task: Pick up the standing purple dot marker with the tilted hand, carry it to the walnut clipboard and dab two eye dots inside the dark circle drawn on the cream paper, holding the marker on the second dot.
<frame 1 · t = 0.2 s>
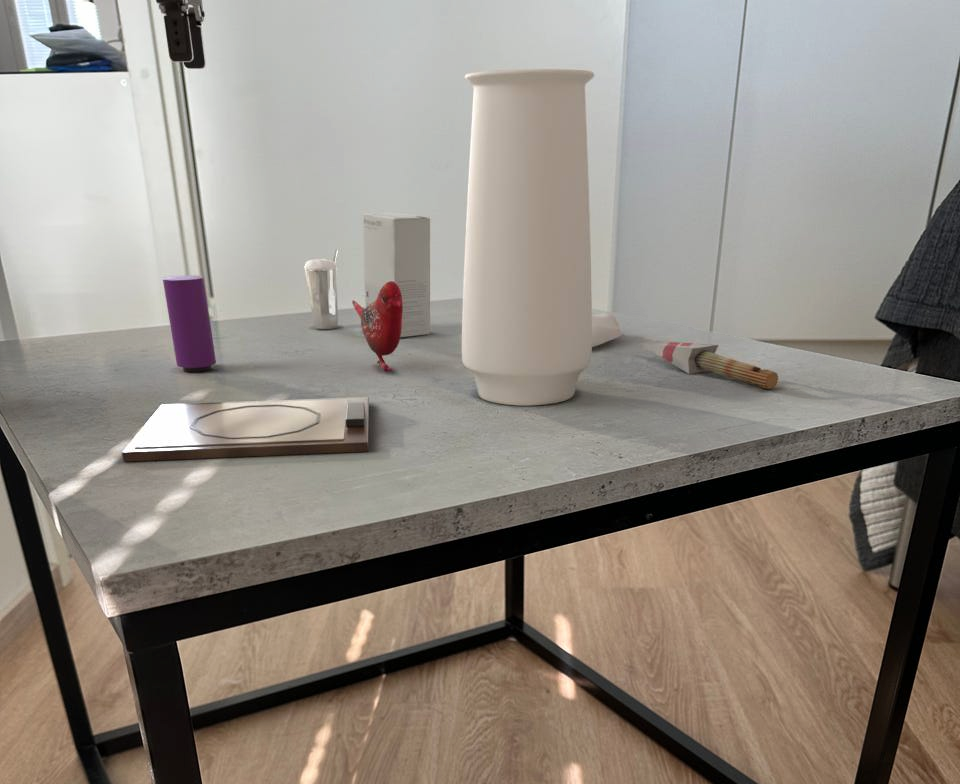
hand: (189, 65, 94), 30 cm above the table, tool pointing down, fingers open, 8 cm apart
cosmetic box: (399, 333, 127), on the table
dot marker: (197, 369, 107), on the table
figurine: (546, 341, 120), on the table
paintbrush: (704, 374, 102), on the table
milkshake: (328, 328, 131), on the table
vase: (526, 396, 94), on the table
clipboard: (257, 430, 83), on the table
decorative bird figurine: (378, 368, 107), on the table
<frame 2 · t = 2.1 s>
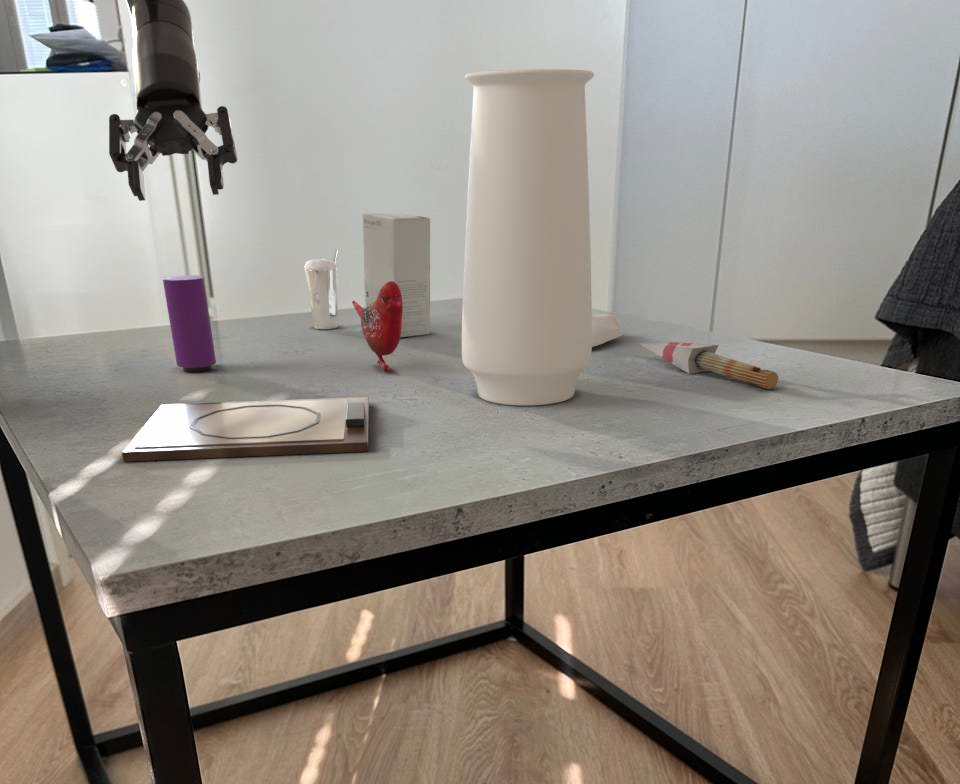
hand: (177, 193, 107), 18 cm above the table, tool tilted 40°, fingers open, 8 cm apart
nothing on the table moved.
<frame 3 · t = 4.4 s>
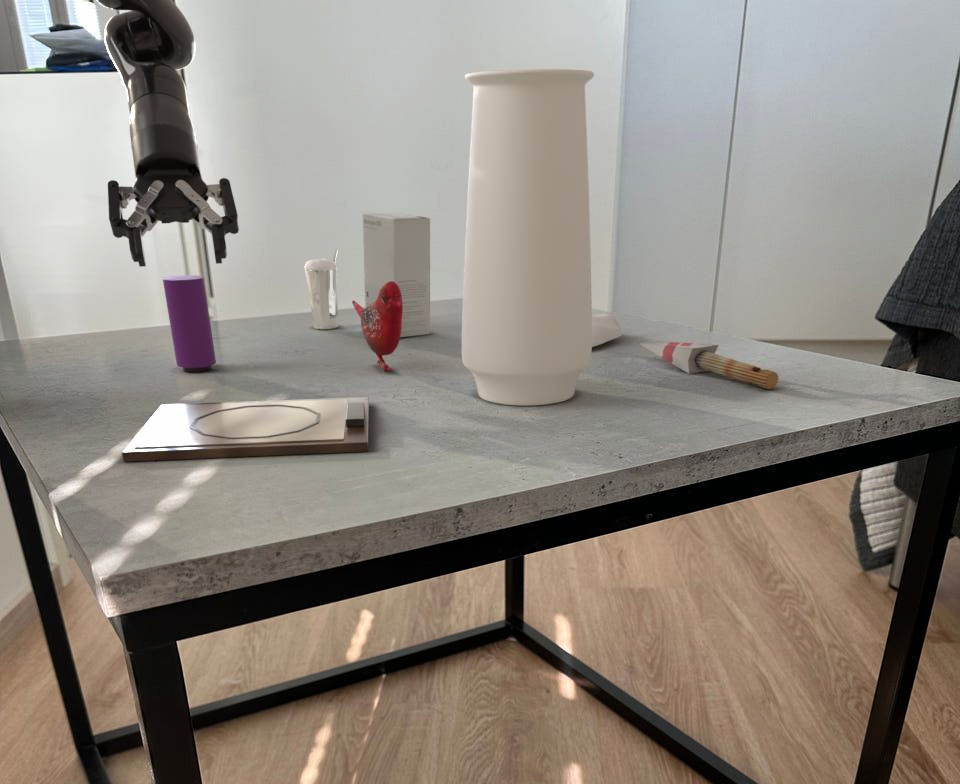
hand: (180, 260, 106), 11 cm above the table, tool tilted 45°, fingers open, 8 cm apart
nothing on the table moved.
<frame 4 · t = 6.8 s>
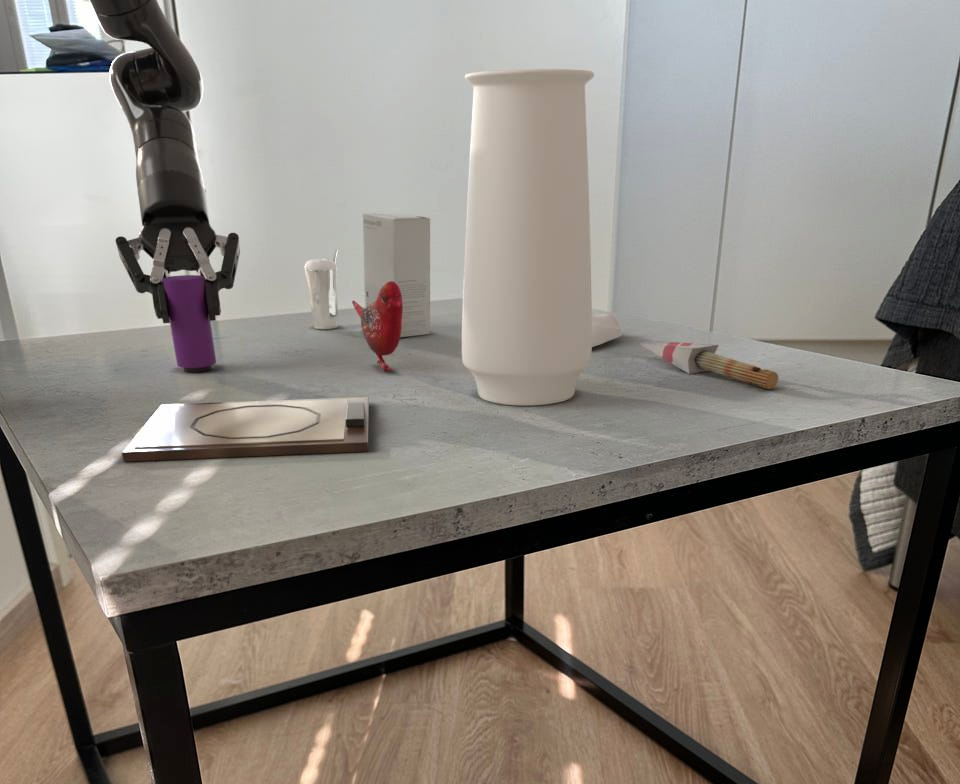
hand: (189, 316, 103), 6 cm above the table, tool tilted 45°, fingers closed on dot marker, 4 cm apart
dot marker: (197, 369, 107), on the table, touching gripper
everything else where it was.
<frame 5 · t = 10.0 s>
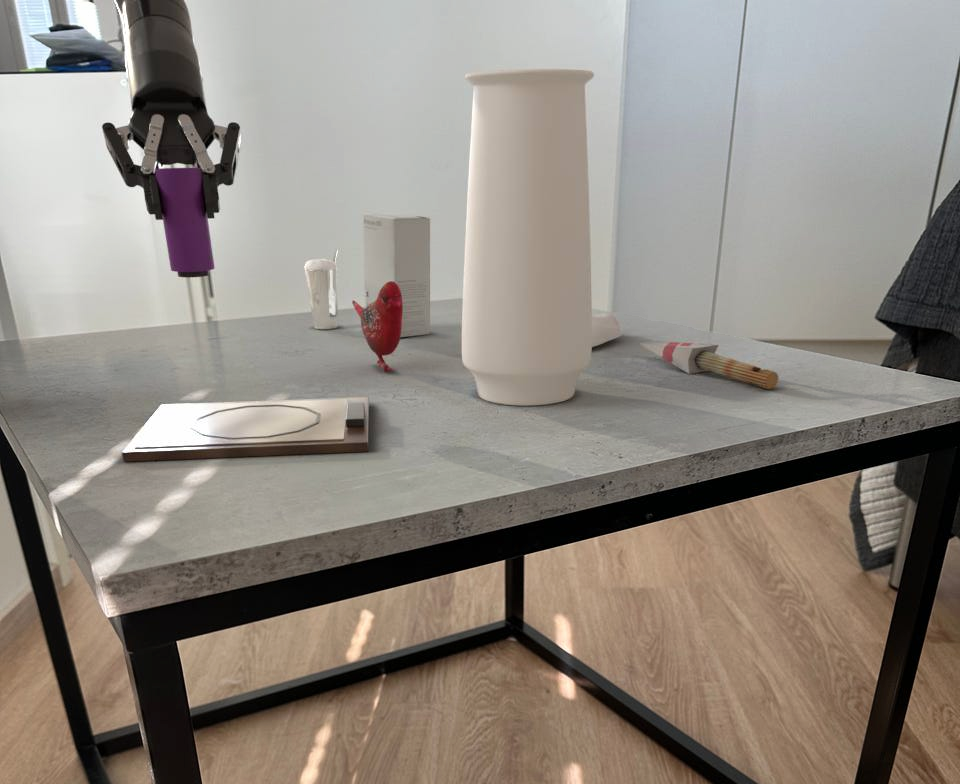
hand: (184, 212, 92), 17 cm above the table, tool tilted 45°, fingers closed on dot marker, 4 cm apart
dot marker: (193, 275, 96), point 11 cm above the table, touching gripper
everything else where it was.
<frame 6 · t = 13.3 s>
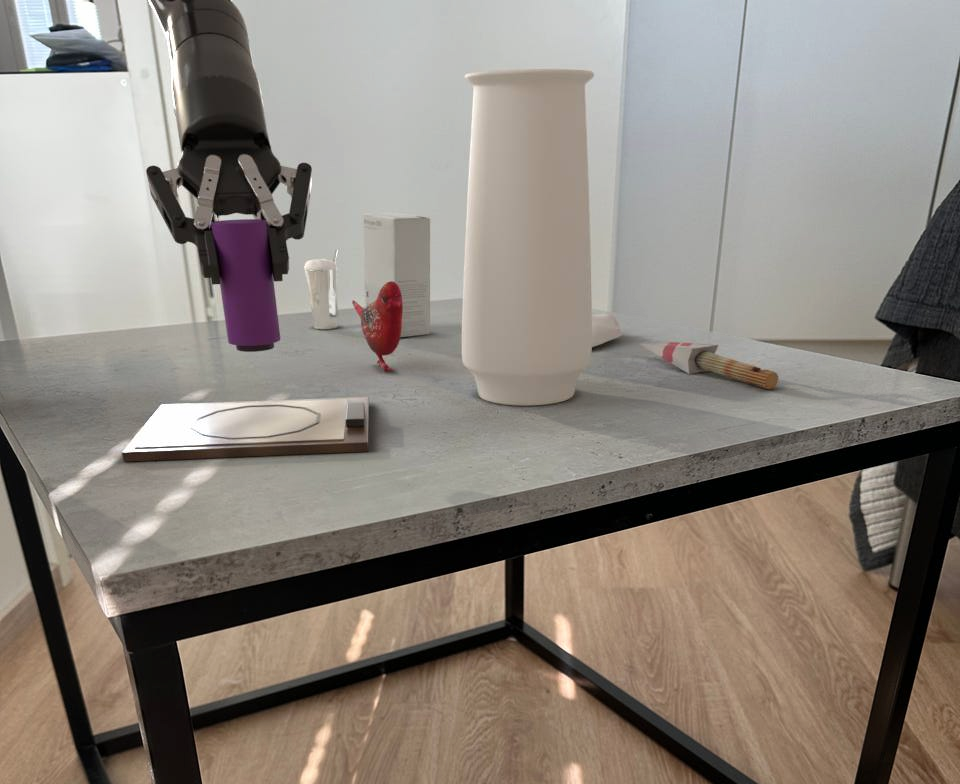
hand: (247, 275, 75), 13 cm above the table, tool tilted 45°, fingers closed on dot marker, 4 cm apart
dot marker: (255, 348, 80), point 7 cm above the table, touching gripper
everything else where it was.
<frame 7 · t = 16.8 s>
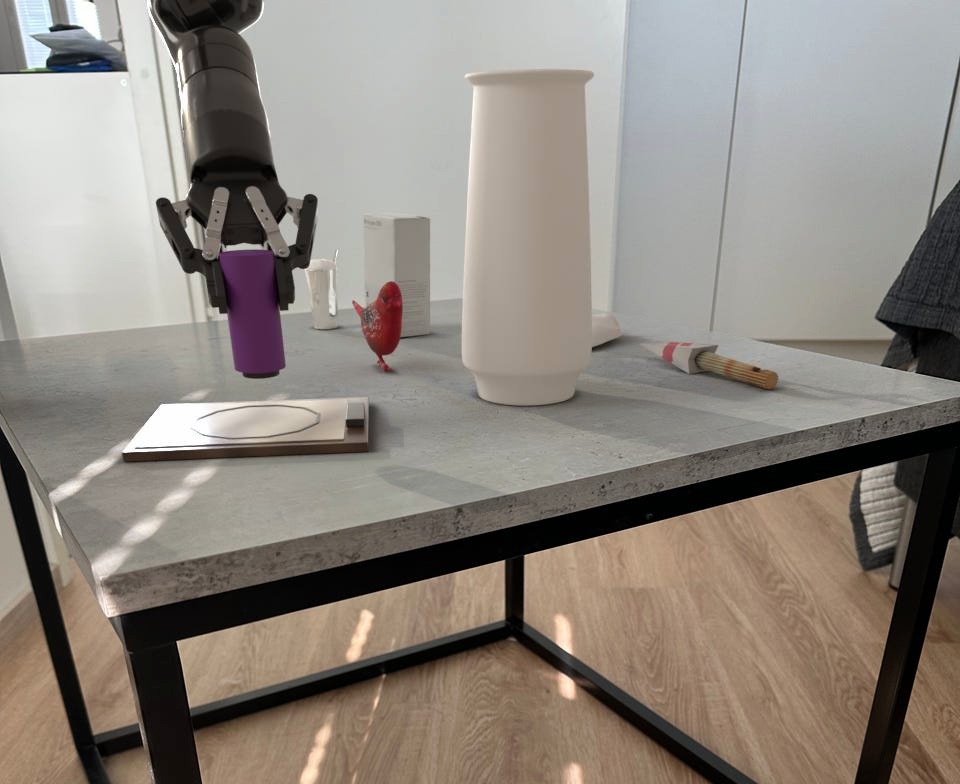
hand: (254, 305, 77), 11 cm above the table, tool tilted 45°, fingers closed on dot marker, 4 cm apart
dot marker: (261, 374, 81), point 5 cm above the table, touching gripper
everything else where it was.
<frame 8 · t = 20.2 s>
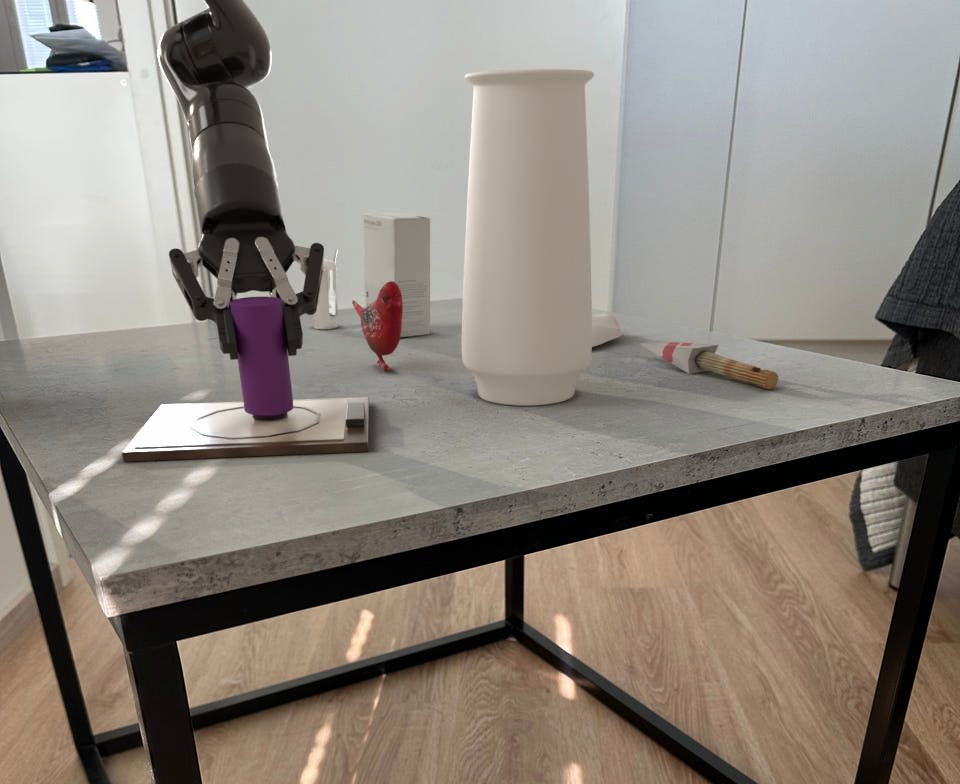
hand: (263, 351, 80), 7 cm above the table, tool tilted 45°, fingers closed on dot marker, 4 cm apart
dot marker: (270, 415, 84), point 1 cm above the table, touching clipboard, gripper
everything else where it was.
at the end: dot marker inside the target area on the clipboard (1.9 cm from its centre), point 1.0 cm above the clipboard's base; dot marker touching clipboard, gripper; dot marker tilted 2° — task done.
